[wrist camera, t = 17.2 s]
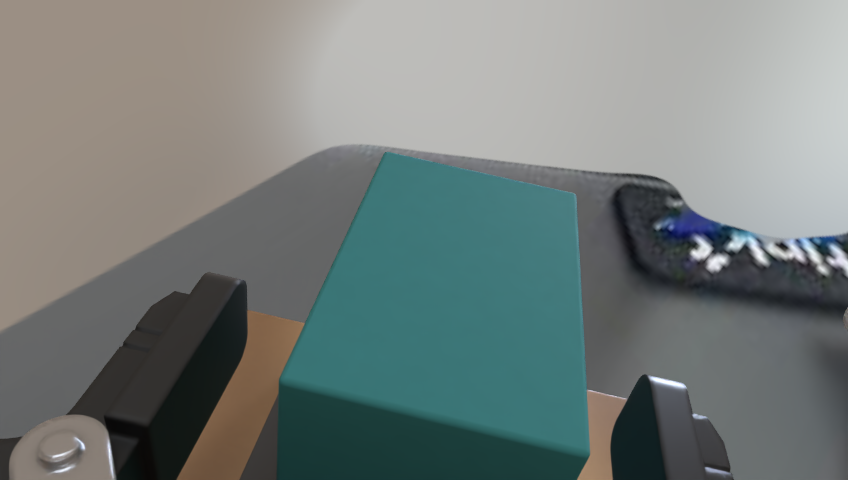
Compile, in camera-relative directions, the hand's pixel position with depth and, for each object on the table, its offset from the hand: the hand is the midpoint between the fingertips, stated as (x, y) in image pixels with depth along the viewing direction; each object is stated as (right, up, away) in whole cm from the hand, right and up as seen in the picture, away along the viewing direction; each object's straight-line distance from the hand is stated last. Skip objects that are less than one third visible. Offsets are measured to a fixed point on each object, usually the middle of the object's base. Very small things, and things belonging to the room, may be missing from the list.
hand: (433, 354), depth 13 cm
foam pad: (-1, -6, +5) cm, 8 cm away
